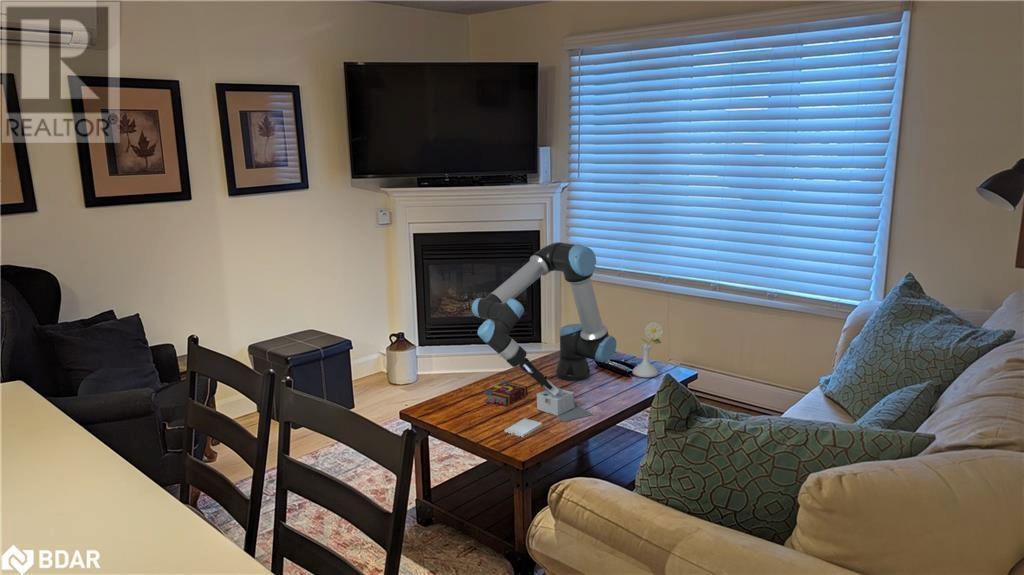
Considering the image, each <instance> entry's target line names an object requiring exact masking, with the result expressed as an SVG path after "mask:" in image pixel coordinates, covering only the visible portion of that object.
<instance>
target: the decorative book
mask: <svg viewBox="0 0 1024 575" xmlns="http://www.w3.org/2000/svg"><path fill="white" fill-rule="evenodd" d="M483 393H484V394H485V399H484V403H485V402H488V404H495V405H500V406H503V407H508V406H512V405H514V404H515V403H516V402H518V401H520V400H522V398H523V399H524V397H526V396H528V386H527V385H523V384H520V383H514V382H512V381H509V380H508V381H507V380H504V381H502V382H500V384H498V385H494V386H493V387H492V388H489V389H486V390H484V392H483Z"/></svg>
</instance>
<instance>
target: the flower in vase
mask: <svg viewBox="0 0 1024 575" xmlns="http://www.w3.org/2000/svg"><path fill="white" fill-rule="evenodd" d="M645 326H646V327H645V329H644V333H645V336H646V337H647V338H648V339H650V341H649V342H648V341H647V340H644V339H642V338H641V340H642V341H644V342H646V343H643V344H640V348H641V349H642V361H641V362H640V363H639V364H637V365H636V366H635V367H634V368H633V369H632V371H631V372H632V374H633V375H634V376H637V377H640V378H645V379H648V378H654V377H656V376H658V375H659V371H658V369H657V368H656V367H655V366H654V365H653V364H652V363H650V359H649V355H650V351H651V349H652V348H653V345H651V342H653V344H655V345H659V344H662V341H661V340H660V338H662V336H663V335H664V329H663V326H662V324H661V323H658V322H656V321H652V322H650V323H648V324H646V325H645ZM647 343H648V344H647Z"/></svg>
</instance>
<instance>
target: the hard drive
mask: <svg viewBox="0 0 1024 575" xmlns="http://www.w3.org/2000/svg"><path fill="white" fill-rule="evenodd" d="M542 426H543V422H539V421H536V420H532V419H528V418H523V419H521V420H520V421H517V422H516V423H514V424H511V425H510V426H509V427H507V428H505V429H504V433H507V432H508V434H510V433H511V434H510V435H513V434H514V436H517V437H520V436H521V438H524V437H526V436H528V435H529V434H531V433H533V432H534V431H536V430H538V429H540V428H541V427H542ZM527 434H528V435H527ZM525 435H526V436H525Z"/></svg>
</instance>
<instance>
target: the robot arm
mask: <svg viewBox="0 0 1024 575" xmlns="http://www.w3.org/2000/svg"><path fill="white" fill-rule="evenodd" d="M596 264H597V257H596V254H595V253H594V251H593V250H592V249H591V247H588V246H586V245H583V244H573V243H567V242H559V241H558V242H553V243H550V244H548V245H546V246H544V247H542V248H541V249H539V250H538V251H536V252H535V253H534V254H532V255H531V256H530V258H529V261H528V262H526V263H525V264H524V265H523V266H522V267H520V268H519V269H518V270H517V271H516V272H515V273H513V274H512V275H511V276H510V277H509V278H508V279H506V280H505V281H504V282H503V283H502V284H500V285H499V286H498V287H497V288H495V289H494V290H493V291H492V292H491V293H490V294H489V295H487V296H486V297H485V298H484V297H477V298H476V299H475V300H473V302H472V304H471V312H472V314H473V315H474V317H476V318H480V319H482V320H485V321H483V323H482V324H481V325H480V326H479V327H478V329H477V335H478V337H479V338H480V339H481V340H482V341H483V342H484V343H485V344H487V345H488V346H489V347H490V348H491V349H493V351H494V352H496V353H497V354H498V357H499V358H502V359H504V360H505V361H506V363H507V364H509V365H510V366H512V368H515V367H518V366H519V367H520V369H521V370H522V371H524V372H525V373H526V374H527V375H528V376H531V377H532V379H533V380H535V381H536V382H537V383H538V384H540V387H541V388H542V387H544V388H545V390H548V391H550V392H551V393H552V394H553V395H554V396H555V395H556V394H557V393H558V392H559V389H558V388H559V387H557V386H555V385H554V384H553V382H551V381H550V380H549V379H547V378H548V376H547V375H545V376H544V374H543V373H542V372H541V371H540V370H539V369H538V368H537V367H535V365H534V364H533V363H532V362H531V361H530V360H529V358H527V351H526V350H525V348H523V347H522V346H521V345H520V344H519V343H518V342H517V341H516V340H515V339H513V338H512V337H511V336H510V335H509V333H510V332H511V330H512V329H513V328H514V327H515V325H516V324H517V322H518V321H519V320H520V319H521V317H522V315H523V313H525V308H524V306H523V305H522V303H521V302H520V301H518V300H517V299H516V298H517V297H518V296H519V295H520V294H522V292H524V291H525V290H526V289H527V288H528V287H530V286H531V285H532V284H534V282H536V281H538V279H539V278H541V276H546V275H548V274H549V273H551V272H554V271H557V272H562V273H563V276H564V280H565V282H566V283H568V284H569V285H570V287H571V291H572V296H573V299H574V303H575V306H576V310H577V314H578V318H579V322H580V323H572V324H566V325H563V326H562V327H561V328H560V333H559V352H560V353H559V361H558V364H557V368H556V369H555V376H556V377H557V378H559V380H560V379H561V380H563V381H569V382H579V380H580V381H584V380H587V379H589V378H590V377H591V370H590V366H589V363H588V359H590V360H592V361H596V362H601V363H607V362H609V360H611V359H612V357H613V356H614V355H615V353H616V350H617V339H616V338H615V337H614V336H613V335H610V334H609V331H608V327H607V326H606V325H604V324H603V321H602V318H601V314H600V310H599V307H598V301H597V298H596V294H595V291H594V287H593V283H592V277H593V275H594V271H595V270H596ZM556 387H557V388H556Z"/></svg>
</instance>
